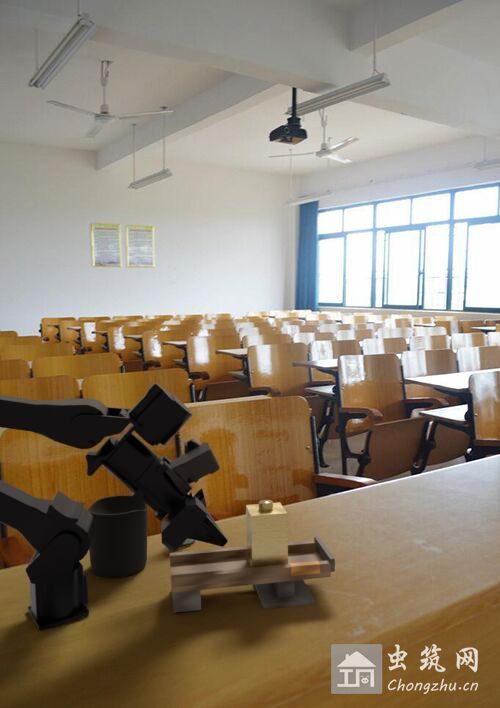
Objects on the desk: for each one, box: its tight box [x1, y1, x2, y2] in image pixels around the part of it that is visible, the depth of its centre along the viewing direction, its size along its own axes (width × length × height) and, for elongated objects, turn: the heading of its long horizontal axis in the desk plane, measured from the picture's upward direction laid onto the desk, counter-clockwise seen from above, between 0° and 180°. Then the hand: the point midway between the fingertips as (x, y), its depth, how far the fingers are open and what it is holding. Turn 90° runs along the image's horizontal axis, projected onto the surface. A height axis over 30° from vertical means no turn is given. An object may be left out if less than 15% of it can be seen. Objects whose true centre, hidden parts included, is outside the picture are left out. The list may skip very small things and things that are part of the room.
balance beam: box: [169, 535, 336, 613], centre depth 80 cm, size 22×9×6 cm, turn 99°
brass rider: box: [245, 499, 289, 568], centre depth 80 cm, size 5×5×9 cm
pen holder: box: [87, 494, 148, 579], centre depth 90 cm, size 9×9×10 cm
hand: (225, 543), depth 79 cm, fingers closed
